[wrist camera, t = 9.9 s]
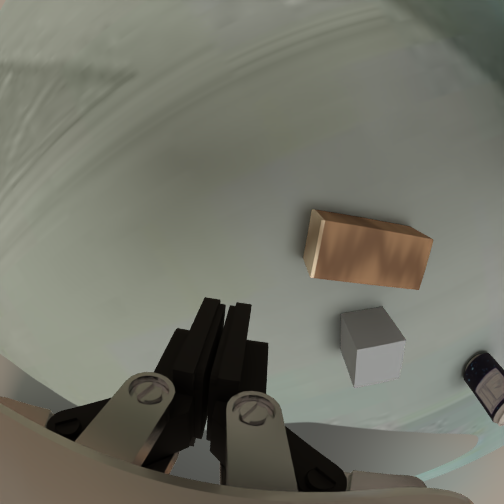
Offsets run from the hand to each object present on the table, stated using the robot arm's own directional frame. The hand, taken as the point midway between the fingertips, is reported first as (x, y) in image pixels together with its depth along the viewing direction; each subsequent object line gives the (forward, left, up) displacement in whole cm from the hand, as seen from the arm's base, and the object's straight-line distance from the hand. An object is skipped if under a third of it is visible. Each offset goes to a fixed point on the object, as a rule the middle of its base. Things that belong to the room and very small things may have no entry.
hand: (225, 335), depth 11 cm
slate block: (+10, +14, -19) cm, 26 cm away
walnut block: (0, +6, -17) cm, 18 cm away
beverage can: (+16, +37, -20) cm, 45 cm away
